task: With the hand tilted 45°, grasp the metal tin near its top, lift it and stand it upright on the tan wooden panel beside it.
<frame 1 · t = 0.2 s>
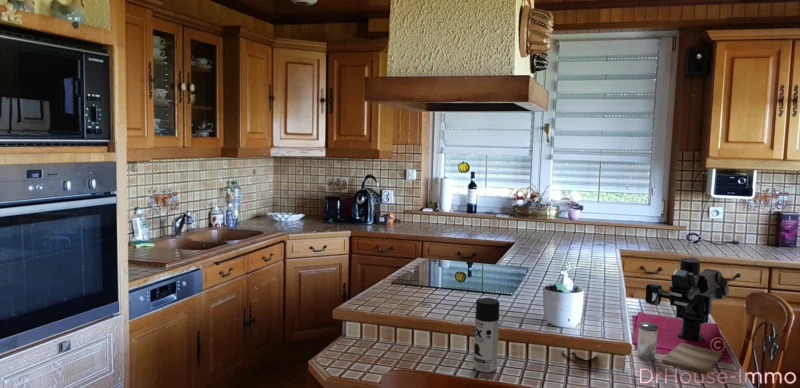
hand: (668, 306, 181), 16 cm above the counter, tool horizontal, fingers open, 9 cm apart
metal tin: (646, 356, 185), on the counter
spray can: (485, 368, 174), on the counter
tan wooden panel: (692, 359, 184), on the counter
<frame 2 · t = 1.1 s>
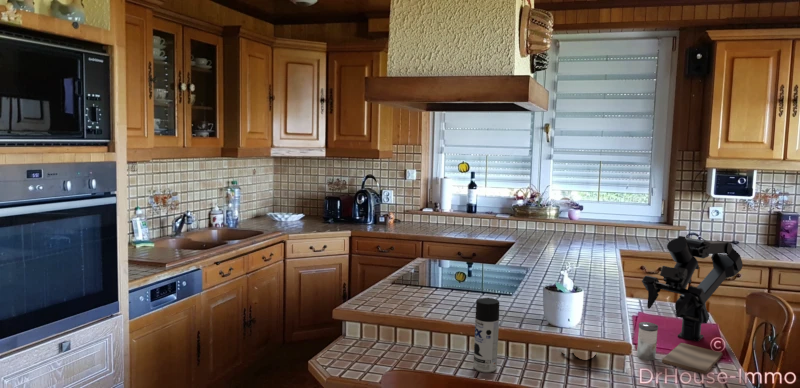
hand: (662, 311, 188), 13 cm above the counter, tool tilted 45°, fingers open, 9 cm apart
nothing on the counter moved.
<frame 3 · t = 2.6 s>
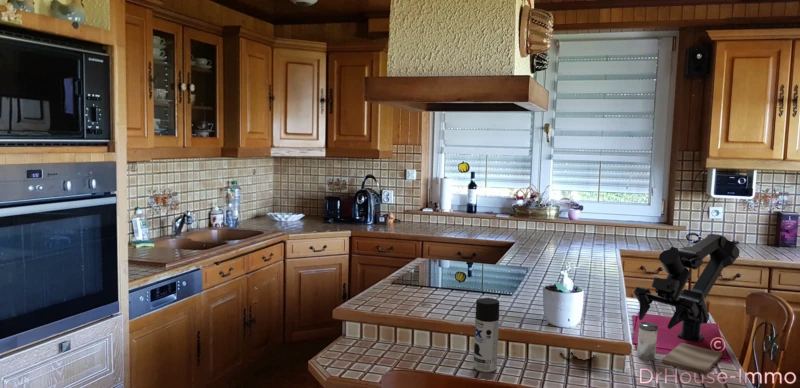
hand: (653, 323, 185), 10 cm above the counter, tool tilted 45°, fingers open, 9 cm apart
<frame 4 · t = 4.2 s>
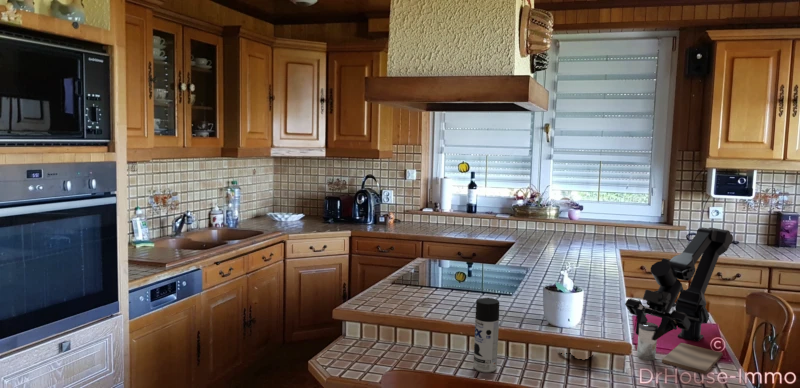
hand: (645, 336, 183), 7 cm above the counter, tool tilted 45°, fingers closed on metal tin, 5 cm apart
metal tin: (645, 356, 185), on the counter, touching gripper
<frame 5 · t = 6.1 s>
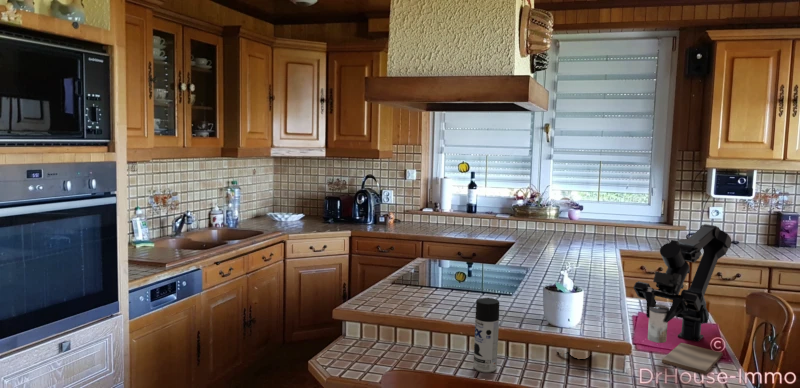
hand: (656, 319, 181), 12 cm above the counter, tool tilted 45°, fingers closed on metal tin, 5 cm apart
metal tin: (656, 339, 183), point 6 cm above the counter, touching gripper
when the fingers open (8 cm above the counter, at t = 8.3 s): metal tin stays where it is, resting on tan wooden panel.
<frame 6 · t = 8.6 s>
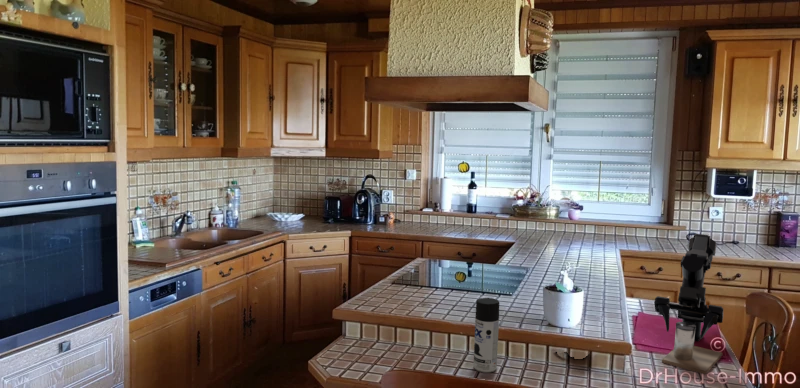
hand: (684, 334, 180), 9 cm above the counter, tool tilted 45°, fingers open, 9 cm apart
metal tin: (682, 356, 183), point 1 cm above the counter, touching tan wooden panel
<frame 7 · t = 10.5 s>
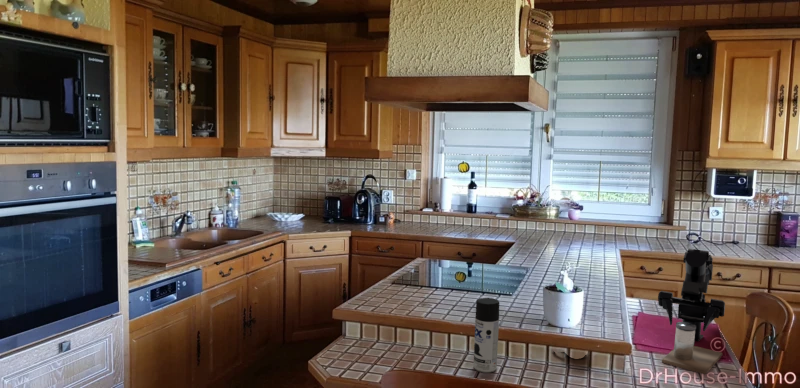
hand: (687, 327, 186), 9 cm above the counter, tool tilted 45°, fingers open, 9 cm apart
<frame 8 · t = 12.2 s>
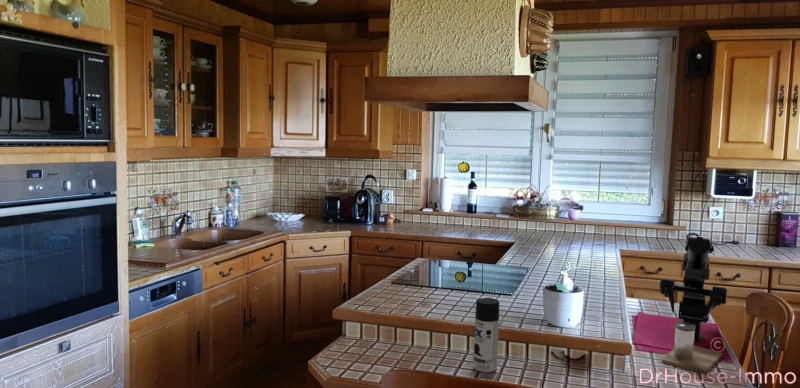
hand: (689, 314, 186), 13 cm above the counter, tool tilted 45°, fingers open, 9 cm apart
at the end: metal tin inside the target area on the tan wooden panel (3.5 cm from its centre), point 1.0 cm above the tan wooden panel's base; metal tin tilted 1°; the gripper is holding nothing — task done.
